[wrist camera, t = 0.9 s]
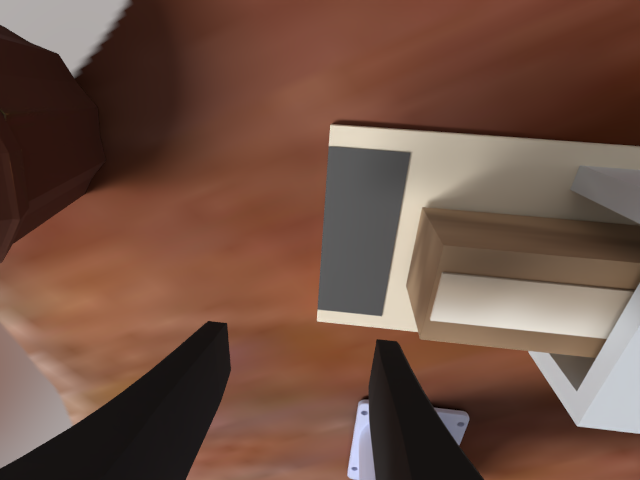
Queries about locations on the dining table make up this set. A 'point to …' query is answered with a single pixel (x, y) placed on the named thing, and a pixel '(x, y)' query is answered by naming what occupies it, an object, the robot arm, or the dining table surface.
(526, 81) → the dining table surface
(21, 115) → the muffin
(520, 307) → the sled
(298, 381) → the dining table surface
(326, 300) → the tunnel
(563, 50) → the dining table surface
